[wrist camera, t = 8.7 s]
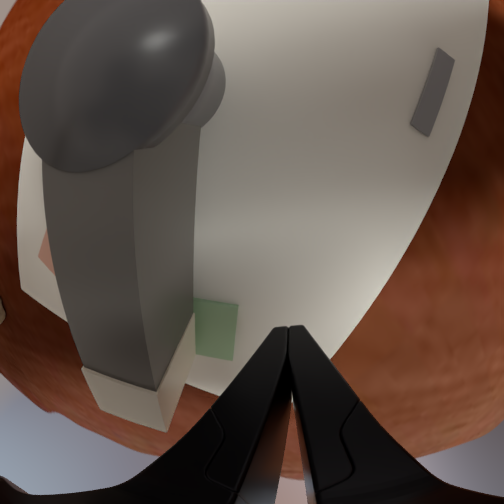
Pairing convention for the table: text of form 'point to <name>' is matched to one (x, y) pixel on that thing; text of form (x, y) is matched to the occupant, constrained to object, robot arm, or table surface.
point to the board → (305, 166)
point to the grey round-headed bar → (124, 186)
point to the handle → (1, 312)
